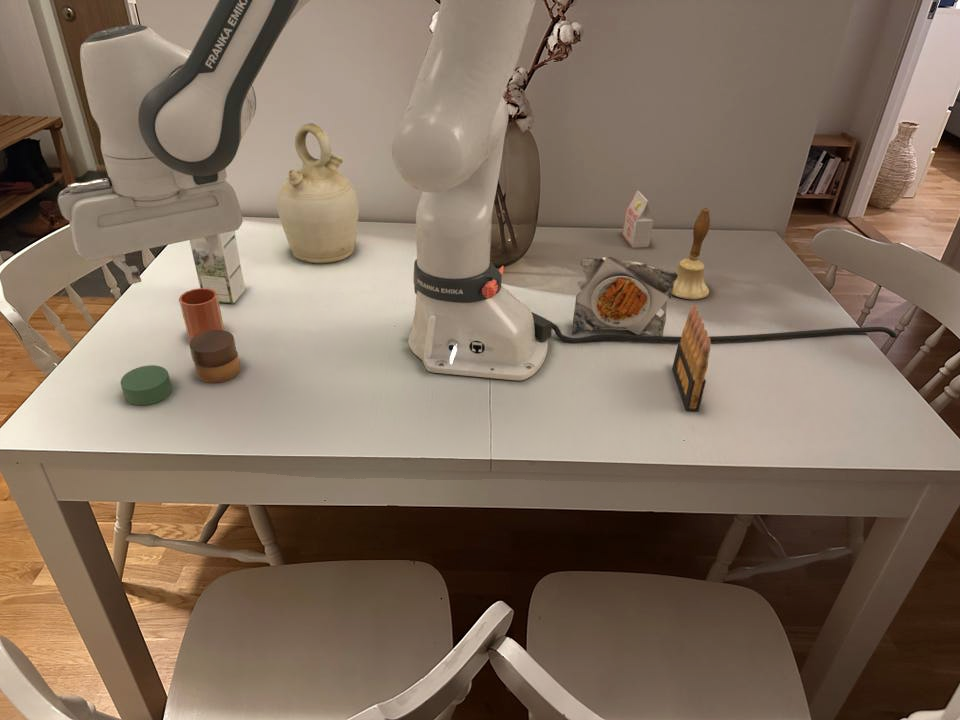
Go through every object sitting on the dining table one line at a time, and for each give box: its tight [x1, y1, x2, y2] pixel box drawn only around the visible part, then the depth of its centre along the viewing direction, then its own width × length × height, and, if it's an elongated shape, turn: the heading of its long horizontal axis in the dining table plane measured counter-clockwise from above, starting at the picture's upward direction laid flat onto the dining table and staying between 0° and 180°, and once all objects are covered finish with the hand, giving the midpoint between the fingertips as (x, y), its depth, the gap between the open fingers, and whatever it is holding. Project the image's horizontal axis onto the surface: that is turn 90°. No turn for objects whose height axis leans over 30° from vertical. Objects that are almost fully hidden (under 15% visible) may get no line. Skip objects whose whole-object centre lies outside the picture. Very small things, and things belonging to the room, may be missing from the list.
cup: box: [178, 287, 225, 341], centre depth 109 cm, size 6×6×7 cm
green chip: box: [119, 365, 173, 407], centre depth 97 cm, size 6×6×3 cm
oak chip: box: [193, 349, 241, 384], centre depth 102 cm, size 6×6×3 cm
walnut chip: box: [188, 329, 238, 367], centre depth 101 cm, size 6×6×3 cm
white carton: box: [621, 190, 654, 249], centre depth 145 cm, size 4×7×10 cm, turn 8°
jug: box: [277, 122, 360, 264], centre depth 132 cm, size 15×16×25 cm
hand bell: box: [672, 207, 711, 301], centre depth 125 cm, size 8×8×16 cm
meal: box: [571, 256, 678, 336], centre depth 112 cm, size 15×4×13 cm, turn 81°
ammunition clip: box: [671, 304, 712, 412], centre depth 100 cm, size 11×2×12 cm, turn 178°
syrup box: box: [188, 230, 246, 304], centre depth 118 cm, size 6×6×14 cm
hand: (171, 273), depth 92 cm, fingers open, 8 cm apart
